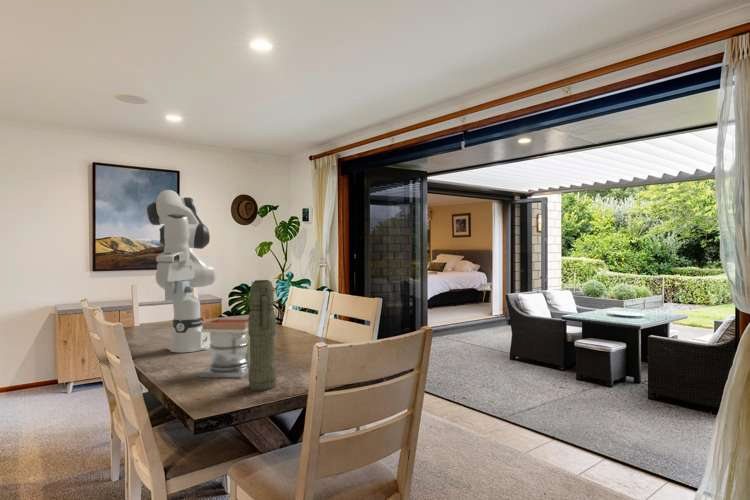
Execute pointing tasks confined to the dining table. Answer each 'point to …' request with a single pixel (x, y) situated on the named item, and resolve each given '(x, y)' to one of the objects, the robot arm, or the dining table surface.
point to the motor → (227, 348)
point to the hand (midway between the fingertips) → (177, 293)
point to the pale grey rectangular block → (179, 291)
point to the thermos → (262, 336)
